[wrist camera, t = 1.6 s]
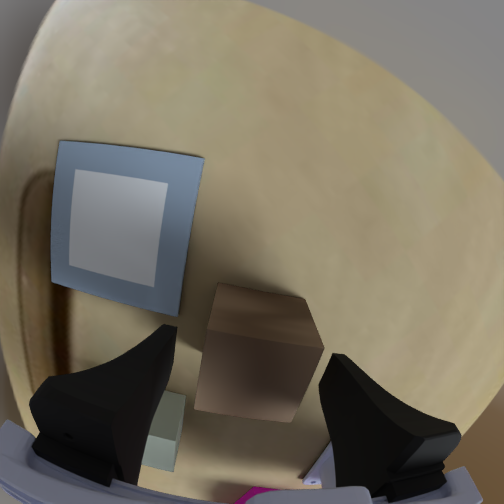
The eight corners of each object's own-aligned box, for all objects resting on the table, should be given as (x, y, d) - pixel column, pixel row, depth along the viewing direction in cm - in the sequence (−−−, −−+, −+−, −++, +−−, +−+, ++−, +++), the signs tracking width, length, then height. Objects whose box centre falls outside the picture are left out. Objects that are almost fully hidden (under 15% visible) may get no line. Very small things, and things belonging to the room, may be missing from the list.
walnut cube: (304, 298, 15) (324, 348, 11) (282, 365, 16) (291, 422, 12) (218, 281, 15) (206, 328, 10) (205, 352, 16) (193, 409, 12)
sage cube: (186, 394, 17) (175, 441, 13) (182, 429, 18) (173, 472, 14) (127, 379, 16) (106, 421, 13) (129, 416, 18) (114, 455, 14)
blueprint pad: (204, 158, 13) (203, 158, 12) (178, 314, 15) (177, 317, 15) (62, 140, 12) (59, 140, 12) (54, 280, 14) (51, 282, 14)
